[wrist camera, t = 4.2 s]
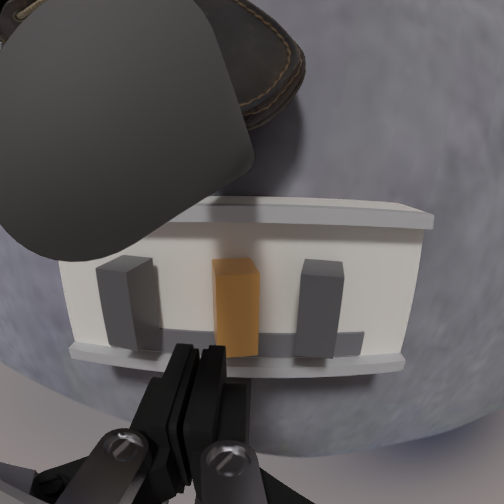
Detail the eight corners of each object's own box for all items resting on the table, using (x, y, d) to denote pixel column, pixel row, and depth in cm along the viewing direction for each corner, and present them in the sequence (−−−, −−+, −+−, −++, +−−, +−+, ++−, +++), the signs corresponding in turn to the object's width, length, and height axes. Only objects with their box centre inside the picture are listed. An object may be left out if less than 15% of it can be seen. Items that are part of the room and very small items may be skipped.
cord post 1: (255, 139, 19) (230, -47, 1) (254, 176, 19) (220, 268, 2) (217, 139, 19) (-8, 22, 2) (216, 176, 19) (-18, 257, 2)
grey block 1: (152, 257, 16) (126, 272, 14) (159, 330, 17) (138, 351, 15) (122, 254, 17) (95, 268, 14) (131, 324, 18) (108, 343, 15)
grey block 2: (342, 261, 16) (344, 277, 14) (333, 334, 17) (332, 358, 15) (304, 258, 16) (300, 274, 14) (299, 331, 18) (294, 355, 15)
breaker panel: (398, 203, 20) (434, 215, 15) (379, 333, 22) (402, 370, 18) (83, 199, 20) (43, 210, 15) (100, 325, 23) (71, 358, 18)
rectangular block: (249, 257, 16) (260, 273, 14) (249, 331, 18) (257, 355, 15) (211, 259, 16) (215, 275, 14) (214, 333, 17) (218, 358, 15)
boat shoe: (244, 182, 20) (228, 201, 10) (-17, 61, 16) (-93, 46, 6) (325, 48, 17) (377, -36, 7) (39, -33, 14) (-21, -72, 3)
